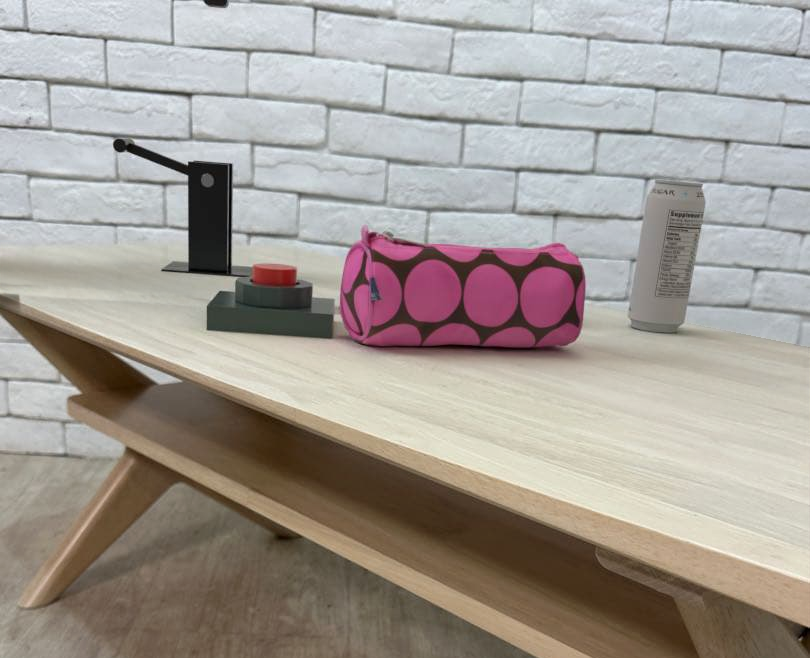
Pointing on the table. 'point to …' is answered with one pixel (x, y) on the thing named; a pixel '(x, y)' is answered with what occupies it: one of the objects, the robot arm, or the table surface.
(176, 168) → the switch lever
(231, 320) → the control box
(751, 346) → the table surface
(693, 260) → the energy drink can
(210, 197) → the switch bracket
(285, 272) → the button
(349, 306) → the pencil case
